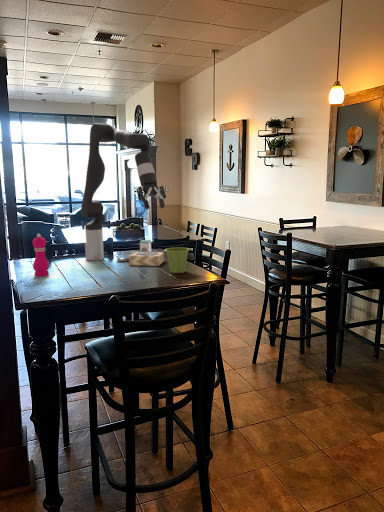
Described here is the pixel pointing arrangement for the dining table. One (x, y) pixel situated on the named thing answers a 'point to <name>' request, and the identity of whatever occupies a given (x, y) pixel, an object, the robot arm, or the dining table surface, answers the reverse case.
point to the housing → (145, 246)
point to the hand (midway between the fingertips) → (155, 208)
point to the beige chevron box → (146, 258)
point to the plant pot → (177, 259)
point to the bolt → (123, 259)
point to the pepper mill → (40, 257)
